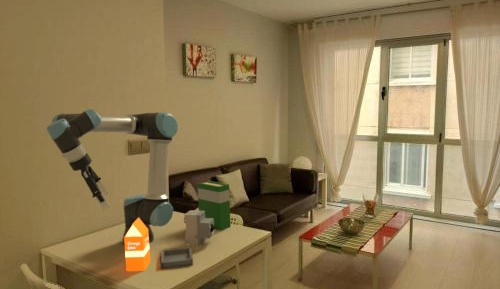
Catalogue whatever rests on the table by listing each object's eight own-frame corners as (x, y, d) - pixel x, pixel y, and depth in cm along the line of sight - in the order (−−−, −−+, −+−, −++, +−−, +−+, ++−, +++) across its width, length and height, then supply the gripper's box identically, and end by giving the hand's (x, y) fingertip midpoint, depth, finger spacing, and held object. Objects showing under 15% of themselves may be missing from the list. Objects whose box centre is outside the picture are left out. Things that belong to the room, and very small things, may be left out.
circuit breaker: (213, 246, 175) (212, 215, 173) (185, 244, 178) (183, 214, 176) (217, 240, 182) (216, 211, 181) (190, 239, 185) (189, 210, 184)
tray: (162, 255, 166) (162, 250, 166) (191, 252, 168) (191, 247, 168) (161, 268, 152) (161, 262, 152) (192, 265, 155) (192, 259, 154)
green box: (199, 224, 208) (197, 182, 206) (209, 221, 214) (207, 180, 211) (220, 230, 197) (219, 186, 194) (230, 227, 202) (228, 184, 200)
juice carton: (126, 271, 151) (122, 224, 149) (132, 262, 160) (129, 217, 157) (145, 270, 151) (142, 223, 149) (150, 261, 160) (148, 217, 157)
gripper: (69, 153, 151) (96, 194, 159) (67, 172, 129) (98, 218, 137) (86, 145, 153) (112, 185, 161) (87, 161, 131) (117, 208, 139)
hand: (106, 200), depth 149 cm, fingers open, 13 cm apart
